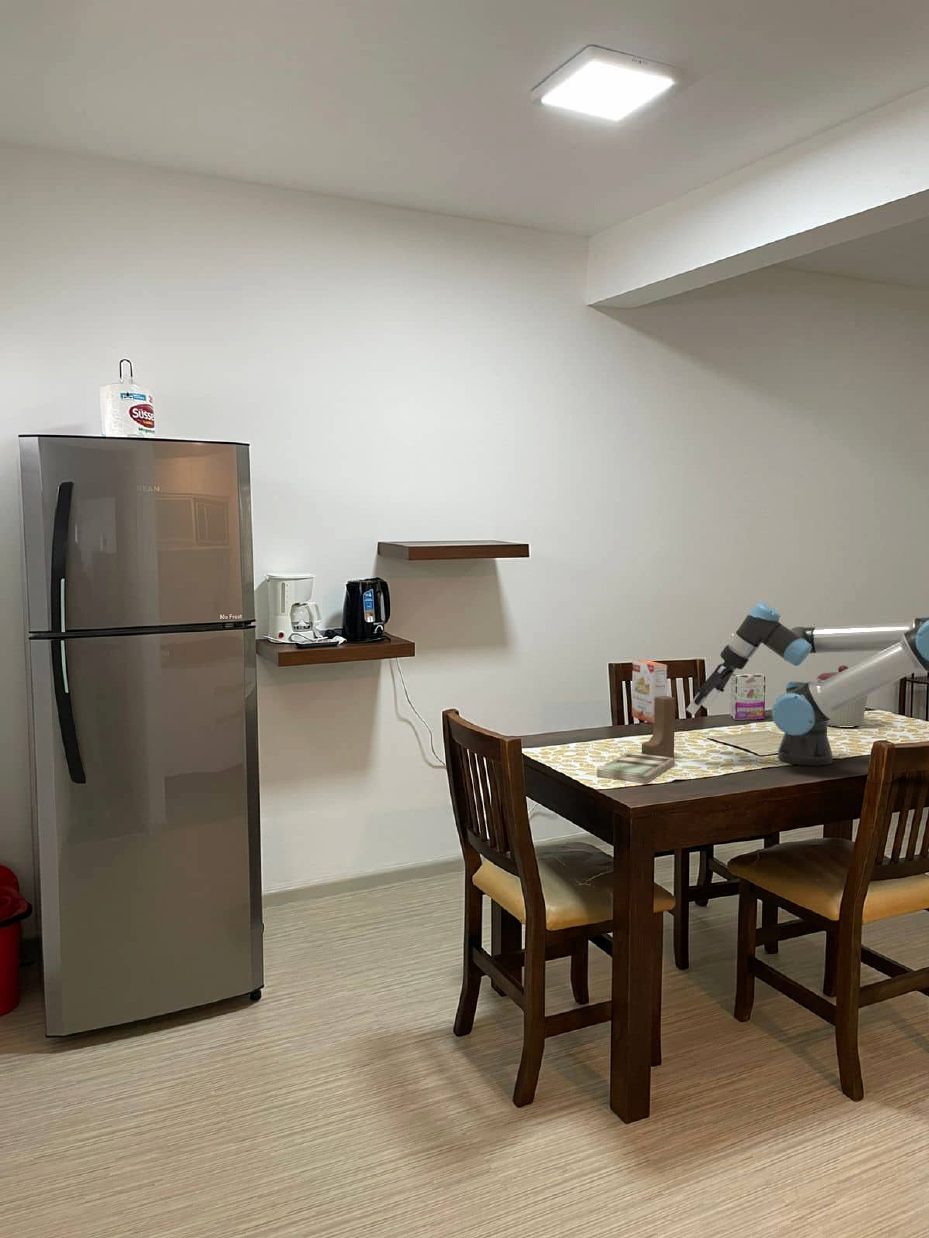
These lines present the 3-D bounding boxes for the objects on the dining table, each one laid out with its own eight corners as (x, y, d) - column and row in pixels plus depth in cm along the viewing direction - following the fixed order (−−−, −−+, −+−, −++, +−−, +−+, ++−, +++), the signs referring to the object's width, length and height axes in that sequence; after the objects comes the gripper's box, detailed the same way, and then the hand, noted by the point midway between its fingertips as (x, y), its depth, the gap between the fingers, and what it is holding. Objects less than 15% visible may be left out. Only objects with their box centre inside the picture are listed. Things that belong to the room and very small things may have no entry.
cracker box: (630, 717, 343) (631, 660, 341) (644, 716, 345) (646, 659, 344) (651, 724, 330) (653, 664, 328) (666, 723, 332) (668, 664, 331)
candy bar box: (758, 717, 343) (760, 673, 342) (764, 720, 338) (766, 675, 337) (729, 718, 342) (730, 673, 340) (735, 721, 337) (736, 675, 335)
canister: (825, 730, 321) (827, 669, 319) (805, 720, 339) (808, 662, 337) (878, 730, 321) (881, 669, 319) (856, 720, 339) (858, 662, 337)
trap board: (674, 764, 271) (674, 756, 271) (646, 783, 250) (646, 774, 250) (628, 758, 278) (628, 751, 278) (596, 776, 257) (597, 768, 257)
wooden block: (651, 761, 275) (652, 700, 274) (640, 757, 279) (642, 697, 278) (674, 757, 280) (675, 697, 278) (664, 754, 284) (665, 695, 282)
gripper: (738, 640, 284) (699, 696, 291) (715, 647, 263) (673, 706, 270) (759, 655, 281) (719, 711, 288) (738, 663, 260) (694, 723, 267)
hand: (696, 709), depth 279 cm, fingers open, 13 cm apart
